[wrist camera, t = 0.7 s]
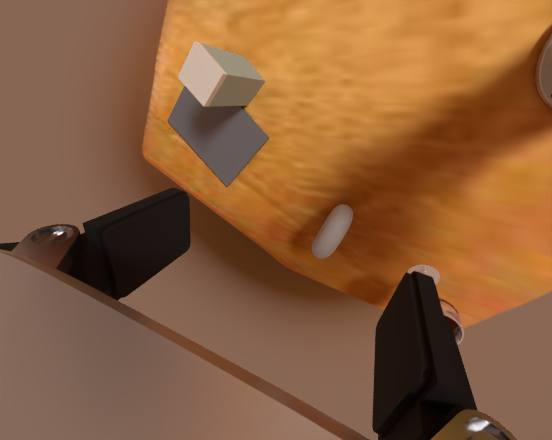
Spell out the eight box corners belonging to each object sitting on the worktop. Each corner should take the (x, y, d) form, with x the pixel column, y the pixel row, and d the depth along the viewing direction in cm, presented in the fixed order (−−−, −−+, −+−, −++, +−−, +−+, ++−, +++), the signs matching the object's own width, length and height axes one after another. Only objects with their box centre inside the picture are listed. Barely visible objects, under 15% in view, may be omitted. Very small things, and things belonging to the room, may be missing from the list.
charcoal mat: (200, 59, 42) (198, 58, 41) (269, 138, 42) (268, 138, 42) (169, 120, 49) (167, 120, 49) (228, 186, 50) (226, 186, 50)
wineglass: (392, 273, 44) (393, 323, 34) (425, 252, 40) (437, 302, 30) (420, 298, 44) (429, 355, 34) (456, 280, 40) (478, 339, 30)
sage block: (244, 56, 39) (194, 41, 29) (265, 80, 39) (222, 73, 29) (228, 83, 41) (177, 77, 31) (247, 105, 42) (203, 106, 32)
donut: (331, 243, 46) (319, 274, 38) (316, 233, 47) (300, 262, 38) (360, 202, 41) (353, 227, 33) (342, 192, 41) (331, 214, 33)
